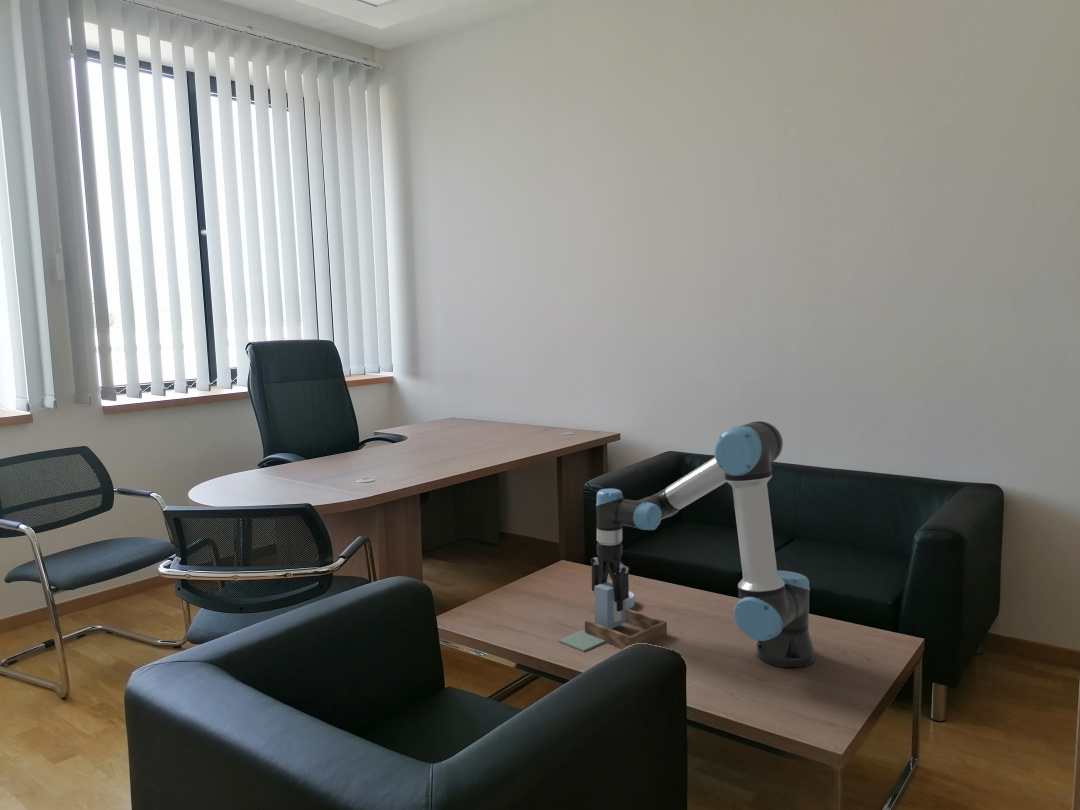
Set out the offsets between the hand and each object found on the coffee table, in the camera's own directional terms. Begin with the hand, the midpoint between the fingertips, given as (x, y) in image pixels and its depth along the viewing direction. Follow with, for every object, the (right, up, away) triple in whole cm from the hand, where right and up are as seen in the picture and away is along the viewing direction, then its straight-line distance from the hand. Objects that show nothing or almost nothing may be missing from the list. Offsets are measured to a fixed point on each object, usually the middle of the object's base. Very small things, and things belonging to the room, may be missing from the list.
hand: (610, 618), depth 234 cm
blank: (0, -2, 0) cm, 2 cm away
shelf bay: (+4, -4, -3) cm, 6 cm away
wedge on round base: (+4, -1, +18) cm, 19 cm away
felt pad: (-8, -5, -8) cm, 12 cm away
